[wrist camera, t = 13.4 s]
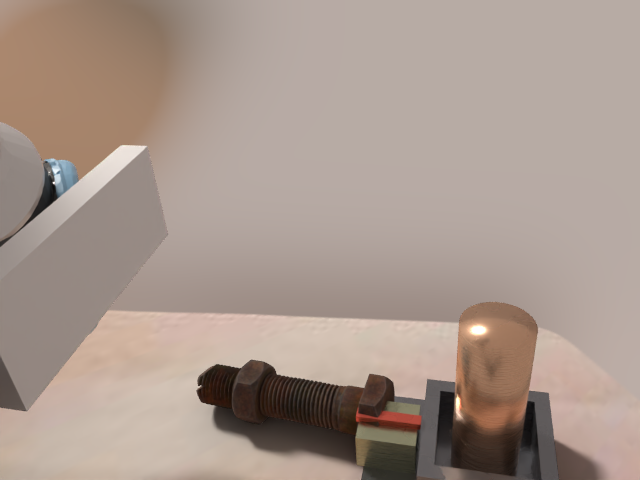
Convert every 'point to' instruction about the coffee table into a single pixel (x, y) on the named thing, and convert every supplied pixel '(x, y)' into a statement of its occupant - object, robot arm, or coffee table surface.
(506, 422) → the pipe stub
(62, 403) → the coffee table surface
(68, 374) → the coffee table surface
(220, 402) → the bolt
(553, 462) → the grey box on baseplate
